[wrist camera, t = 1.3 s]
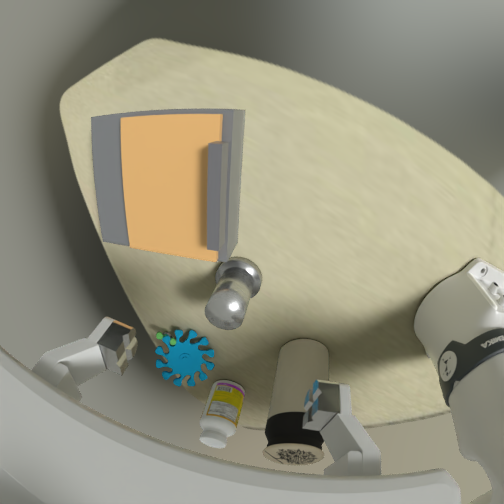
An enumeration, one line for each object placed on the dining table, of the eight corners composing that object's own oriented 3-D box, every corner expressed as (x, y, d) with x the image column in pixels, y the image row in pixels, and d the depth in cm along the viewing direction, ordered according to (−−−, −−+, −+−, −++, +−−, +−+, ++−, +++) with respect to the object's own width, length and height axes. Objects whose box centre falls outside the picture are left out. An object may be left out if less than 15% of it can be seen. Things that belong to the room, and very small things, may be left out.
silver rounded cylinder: (264, 260, 36) (252, 298, 29) (260, 298, 38) (248, 338, 31) (218, 253, 36) (196, 288, 29) (217, 290, 39) (199, 328, 32)
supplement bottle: (231, 400, 53) (215, 451, 41) (206, 384, 51) (186, 437, 40) (253, 391, 50) (238, 448, 38) (227, 374, 48) (208, 432, 37)
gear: (228, 361, 44) (184, 399, 41) (220, 353, 49) (181, 387, 46) (183, 312, 42) (137, 352, 39) (180, 309, 48) (139, 344, 45)
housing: (245, 110, 27) (233, 109, 23) (237, 242, 35) (226, 262, 31) (116, 113, 30) (91, 117, 25) (123, 226, 37) (103, 241, 33)
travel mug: (322, 332, 39) (318, 443, 24) (333, 365, 42) (331, 464, 27) (272, 342, 42) (250, 446, 26) (287, 372, 45) (272, 466, 29)
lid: (232, 114, 23) (223, 114, 21) (226, 259, 30) (218, 273, 28) (125, 117, 24) (108, 119, 22) (133, 244, 32) (121, 255, 29)
